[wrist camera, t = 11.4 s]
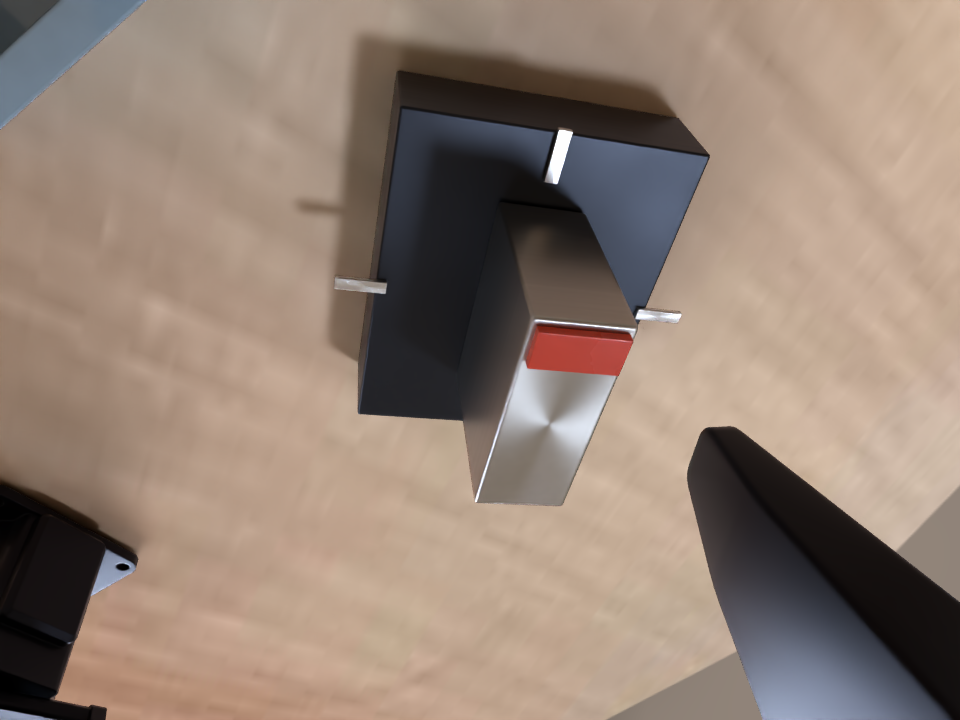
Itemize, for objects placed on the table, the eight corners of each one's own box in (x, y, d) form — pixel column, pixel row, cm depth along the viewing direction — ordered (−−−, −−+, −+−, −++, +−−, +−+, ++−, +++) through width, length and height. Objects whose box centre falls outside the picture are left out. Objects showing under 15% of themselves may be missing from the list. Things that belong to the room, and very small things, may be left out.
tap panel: (604, 385, 27) (624, 437, 25) (325, 363, 25) (321, 418, 23) (716, 120, 21) (753, 160, 19) (353, 58, 18) (352, 96, 16)
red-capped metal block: (530, 381, 23) (564, 515, 19) (455, 375, 22) (475, 511, 18) (586, 211, 19) (644, 334, 15) (498, 200, 18) (534, 323, 15)
